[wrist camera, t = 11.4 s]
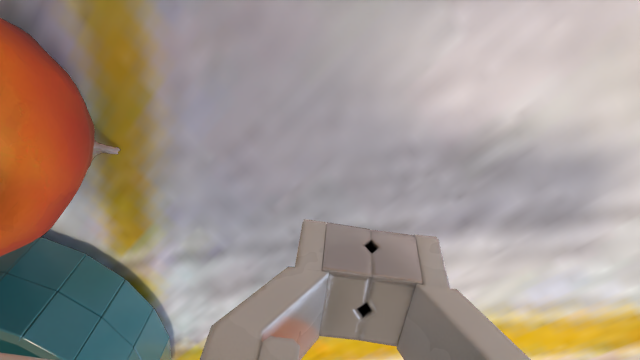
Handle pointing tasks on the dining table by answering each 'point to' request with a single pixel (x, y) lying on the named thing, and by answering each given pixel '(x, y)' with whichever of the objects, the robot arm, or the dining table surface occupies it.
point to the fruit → (38, 139)
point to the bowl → (73, 308)
